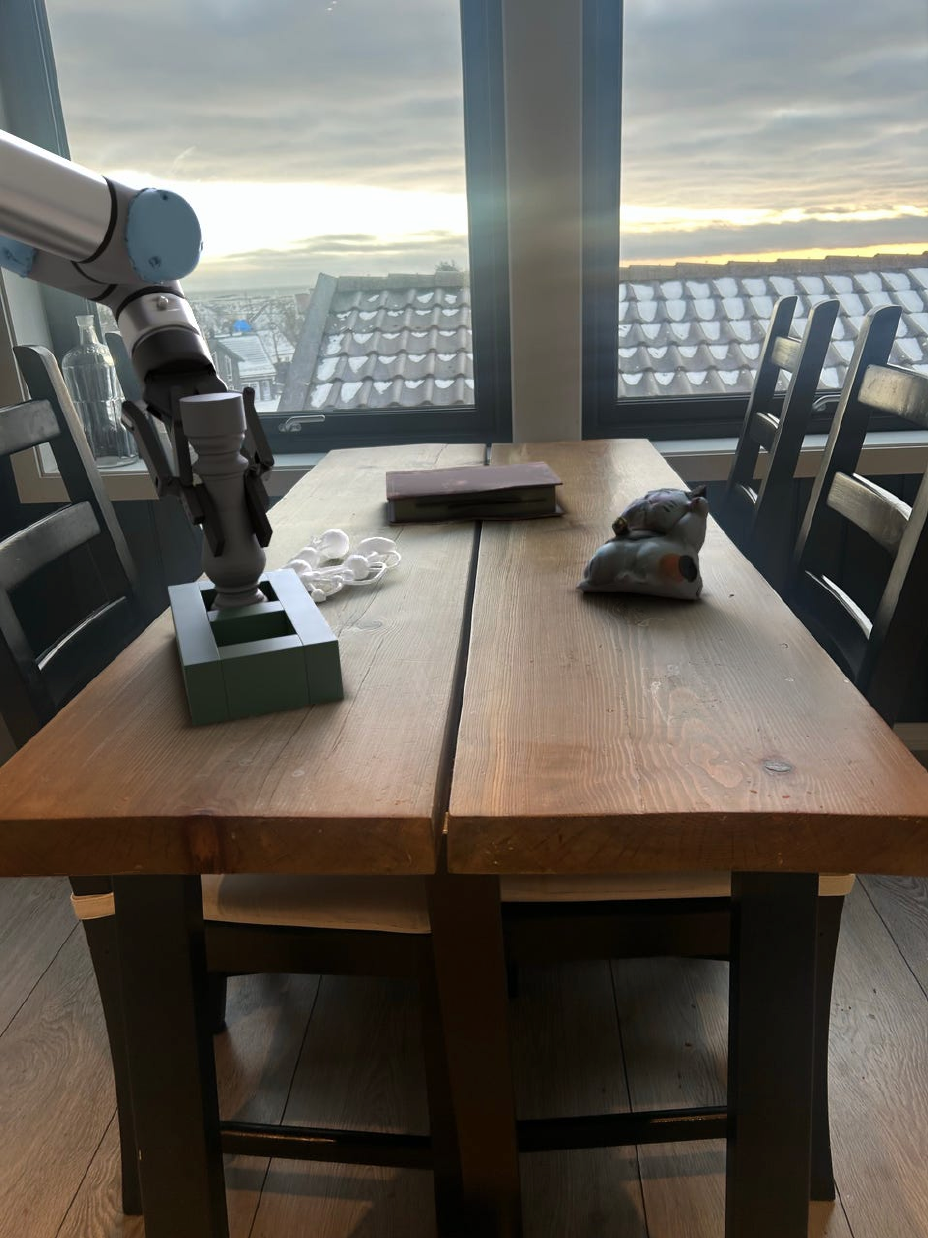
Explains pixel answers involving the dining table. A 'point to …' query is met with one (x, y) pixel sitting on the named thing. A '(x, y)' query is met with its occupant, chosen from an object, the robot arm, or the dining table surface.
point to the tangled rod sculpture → (351, 568)
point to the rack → (254, 650)
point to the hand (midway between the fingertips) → (243, 544)
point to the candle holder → (225, 496)
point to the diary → (472, 493)
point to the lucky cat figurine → (653, 547)
